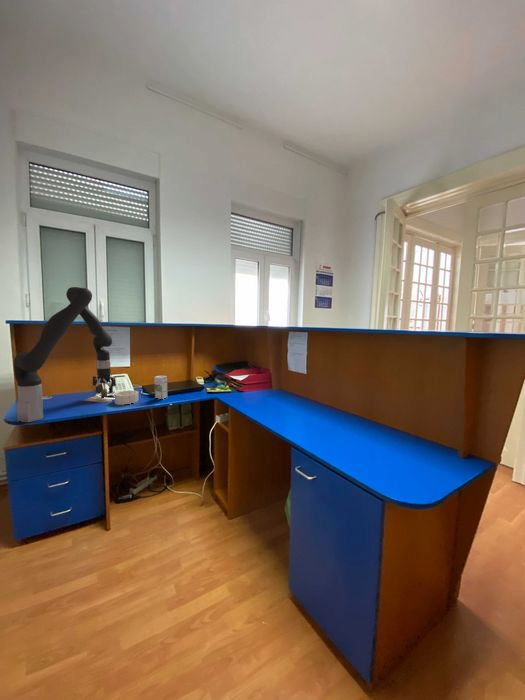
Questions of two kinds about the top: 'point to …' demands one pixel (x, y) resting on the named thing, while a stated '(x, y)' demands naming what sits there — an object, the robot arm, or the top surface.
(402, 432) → the top surface
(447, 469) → the top surface
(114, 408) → the top surface
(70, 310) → the robot arm
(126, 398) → the cream bowl
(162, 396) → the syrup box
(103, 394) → the oak lid
